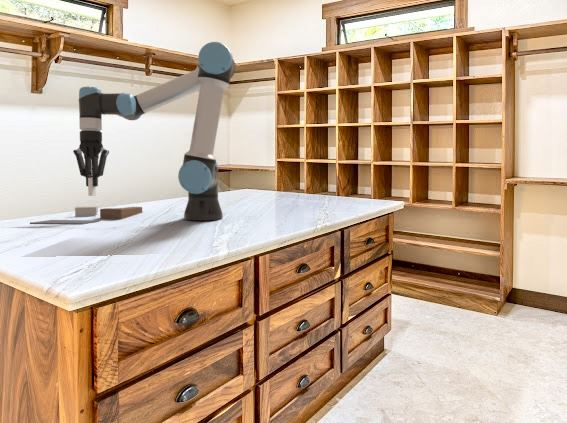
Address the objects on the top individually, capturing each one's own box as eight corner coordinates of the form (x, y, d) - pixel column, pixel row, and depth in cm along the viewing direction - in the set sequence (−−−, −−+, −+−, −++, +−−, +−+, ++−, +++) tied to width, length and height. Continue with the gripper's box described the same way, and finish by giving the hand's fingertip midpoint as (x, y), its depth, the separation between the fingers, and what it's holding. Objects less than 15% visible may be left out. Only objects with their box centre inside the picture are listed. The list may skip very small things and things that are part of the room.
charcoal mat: (100, 221, 181) (100, 220, 181) (82, 224, 168) (82, 223, 168) (51, 220, 183) (51, 219, 183) (29, 223, 171) (29, 222, 170)
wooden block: (99, 208, 186) (123, 206, 204) (99, 220, 186) (123, 217, 204) (120, 209, 184) (142, 206, 202) (121, 220, 185) (142, 217, 202)
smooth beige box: (98, 218, 201) (97, 206, 201) (96, 219, 193) (96, 207, 193) (77, 218, 199) (77, 206, 198) (75, 220, 191) (75, 207, 191)
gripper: (112, 131, 176) (113, 195, 177) (79, 132, 177) (81, 195, 178) (102, 129, 168) (104, 196, 170) (68, 129, 170) (69, 195, 171)
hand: (92, 195), depth 174 cm, fingers closed
